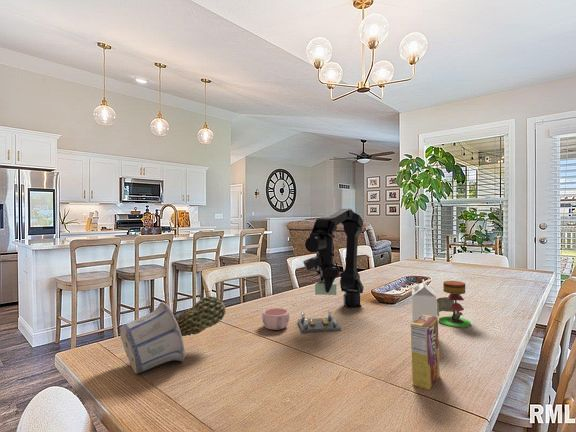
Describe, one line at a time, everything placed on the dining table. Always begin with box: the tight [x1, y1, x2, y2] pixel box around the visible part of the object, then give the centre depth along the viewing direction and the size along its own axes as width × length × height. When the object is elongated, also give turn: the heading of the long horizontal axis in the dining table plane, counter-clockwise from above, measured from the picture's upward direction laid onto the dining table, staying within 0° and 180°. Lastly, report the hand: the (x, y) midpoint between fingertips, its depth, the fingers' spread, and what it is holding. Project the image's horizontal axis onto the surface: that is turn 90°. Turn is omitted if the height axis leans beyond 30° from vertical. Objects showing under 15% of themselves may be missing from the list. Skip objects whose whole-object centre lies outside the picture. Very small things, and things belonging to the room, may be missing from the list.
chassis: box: [297, 310, 342, 333], centre depth 123 cm, size 14×11×4 cm
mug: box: [261, 307, 290, 331], centre depth 123 cm, size 12×10×6 cm
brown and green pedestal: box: [436, 280, 472, 328], centre depth 124 cm, size 12×13×15 cm
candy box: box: [410, 315, 441, 391], centre depth 83 cm, size 9×4×15 cm, turn 140°
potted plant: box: [119, 296, 227, 374], centre depth 98 cm, size 18×18×30 cm
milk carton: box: [411, 279, 438, 324], centre depth 109 cm, size 7×7×19 cm
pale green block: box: [314, 280, 337, 296], centre depth 128 cm, size 8×5×5 cm, turn 84°
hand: (325, 290), depth 128 cm, fingers closed on pale green block, 5 cm apart
